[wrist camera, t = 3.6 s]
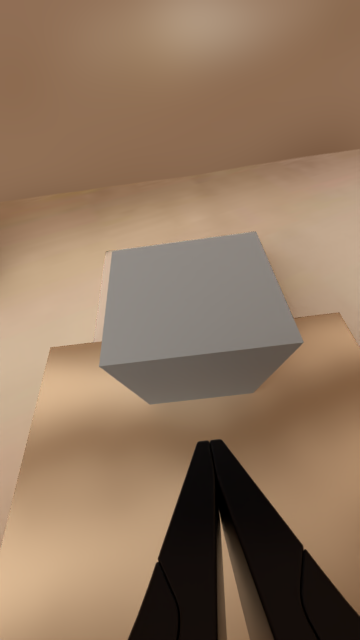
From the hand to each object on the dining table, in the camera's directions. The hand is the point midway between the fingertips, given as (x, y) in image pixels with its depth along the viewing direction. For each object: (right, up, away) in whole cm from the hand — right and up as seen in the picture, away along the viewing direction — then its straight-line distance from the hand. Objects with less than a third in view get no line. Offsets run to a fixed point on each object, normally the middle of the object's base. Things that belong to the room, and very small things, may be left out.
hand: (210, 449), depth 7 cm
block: (0, +2, +6) cm, 7 cm away
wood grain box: (+1, -6, +11) cm, 12 cm away
